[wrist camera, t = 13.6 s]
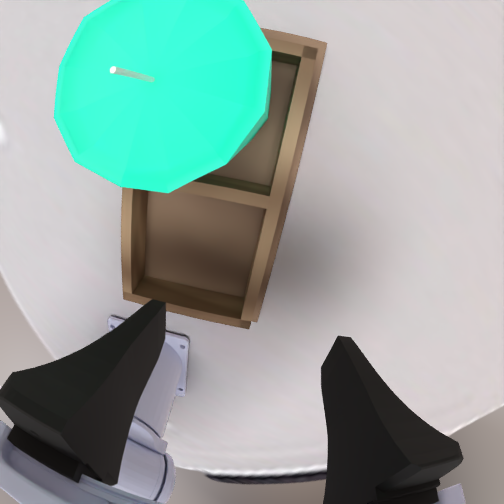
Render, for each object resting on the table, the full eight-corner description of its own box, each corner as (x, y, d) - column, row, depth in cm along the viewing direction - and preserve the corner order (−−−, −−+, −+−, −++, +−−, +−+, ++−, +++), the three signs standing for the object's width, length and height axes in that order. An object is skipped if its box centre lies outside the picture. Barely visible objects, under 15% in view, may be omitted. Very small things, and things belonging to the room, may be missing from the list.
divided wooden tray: (257, 314, 22) (255, 344, 19) (134, 286, 22) (116, 311, 19) (324, 46, 14) (336, 31, 10) (163, 25, 13) (142, 10, 10)
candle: (152, 101, 15) (-8, 102, 4) (227, 37, 13) (151, -80, 2) (213, 170, 17) (115, 268, 6) (292, 109, 15) (346, 79, 4)
